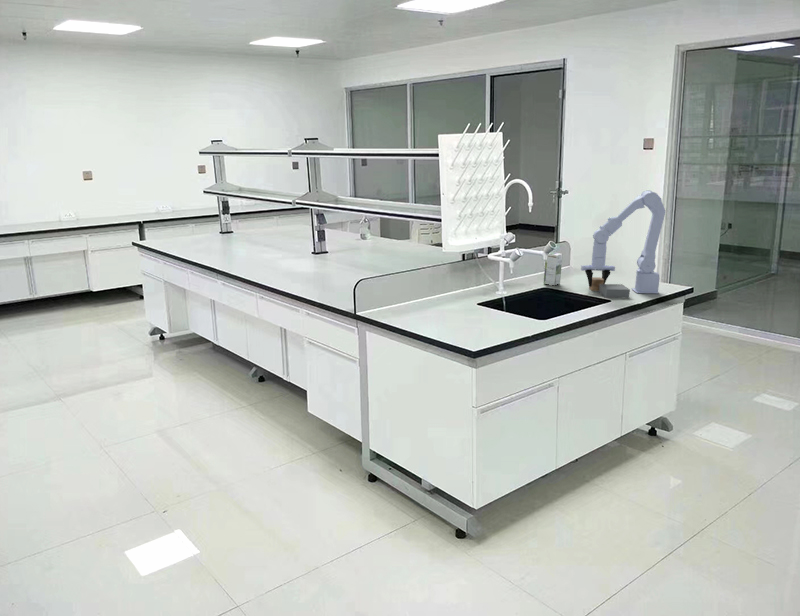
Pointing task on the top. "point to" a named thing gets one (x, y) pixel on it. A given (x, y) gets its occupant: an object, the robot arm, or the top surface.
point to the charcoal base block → (614, 290)
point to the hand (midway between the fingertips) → (596, 286)
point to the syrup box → (553, 269)
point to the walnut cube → (596, 283)
